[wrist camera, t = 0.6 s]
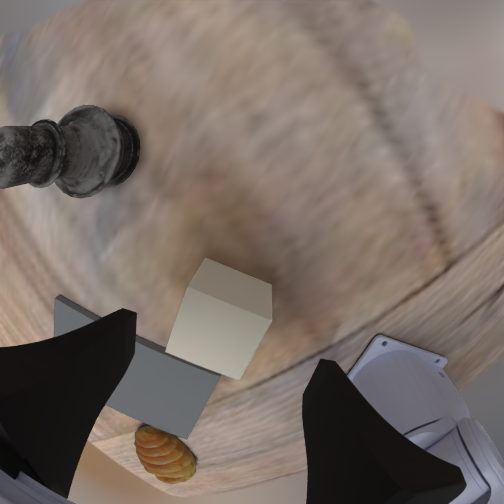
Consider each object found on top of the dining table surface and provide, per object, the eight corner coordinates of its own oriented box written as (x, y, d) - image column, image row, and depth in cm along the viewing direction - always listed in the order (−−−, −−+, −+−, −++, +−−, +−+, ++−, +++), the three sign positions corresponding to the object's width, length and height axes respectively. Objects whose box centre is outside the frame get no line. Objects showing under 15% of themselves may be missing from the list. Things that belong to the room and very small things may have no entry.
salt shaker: (132, 200, 19) (6, 253, 8) (70, 180, 19) (-56, 213, 8) (154, 118, 17) (28, 89, 6) (88, 105, 17) (-40, 88, 6)
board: (221, 370, 23) (220, 376, 23) (188, 434, 27) (186, 439, 26) (59, 294, 22) (54, 298, 21) (58, 372, 25) (55, 376, 25)
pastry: (124, 418, 27) (113, 442, 23) (177, 421, 27) (169, 448, 23) (155, 461, 30) (149, 483, 26) (203, 464, 29) (199, 488, 26)
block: (271, 284, 21) (272, 320, 16) (244, 337, 22) (239, 380, 17) (205, 256, 20) (187, 286, 16) (184, 313, 22) (165, 351, 17)
